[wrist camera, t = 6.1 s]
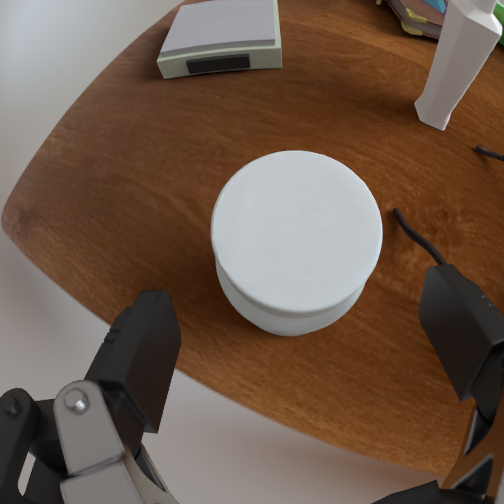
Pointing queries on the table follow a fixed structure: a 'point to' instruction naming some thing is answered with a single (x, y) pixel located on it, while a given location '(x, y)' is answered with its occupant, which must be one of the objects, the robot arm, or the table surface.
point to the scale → (222, 38)
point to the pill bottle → (295, 241)
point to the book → (420, 16)
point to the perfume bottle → (458, 57)
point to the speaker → (500, 18)
